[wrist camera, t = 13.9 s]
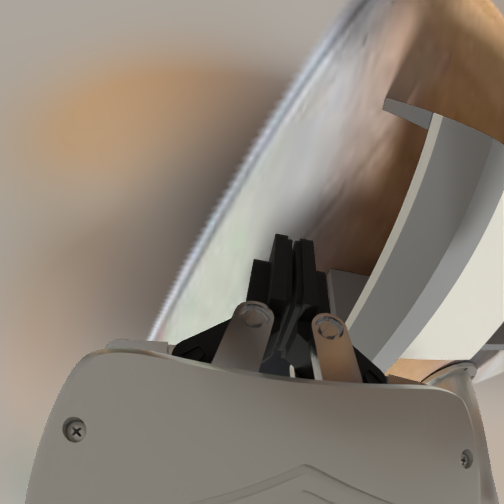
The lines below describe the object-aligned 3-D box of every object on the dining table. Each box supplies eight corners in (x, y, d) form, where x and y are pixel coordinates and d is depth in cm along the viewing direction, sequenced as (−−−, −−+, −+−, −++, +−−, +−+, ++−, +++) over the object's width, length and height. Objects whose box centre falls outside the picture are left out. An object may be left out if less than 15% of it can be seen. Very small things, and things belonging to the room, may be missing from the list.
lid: (466, 351, 20) (480, 393, 16) (333, 342, 20) (337, 400, 16) (563, 201, 10) (600, 237, 6) (433, 112, 10) (493, 138, 6)
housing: (509, 308, 26) (529, 348, 20) (326, 276, 26) (333, 340, 20) (566, 208, 16) (600, 242, 10) (385, 97, 16) (432, 111, 10)
